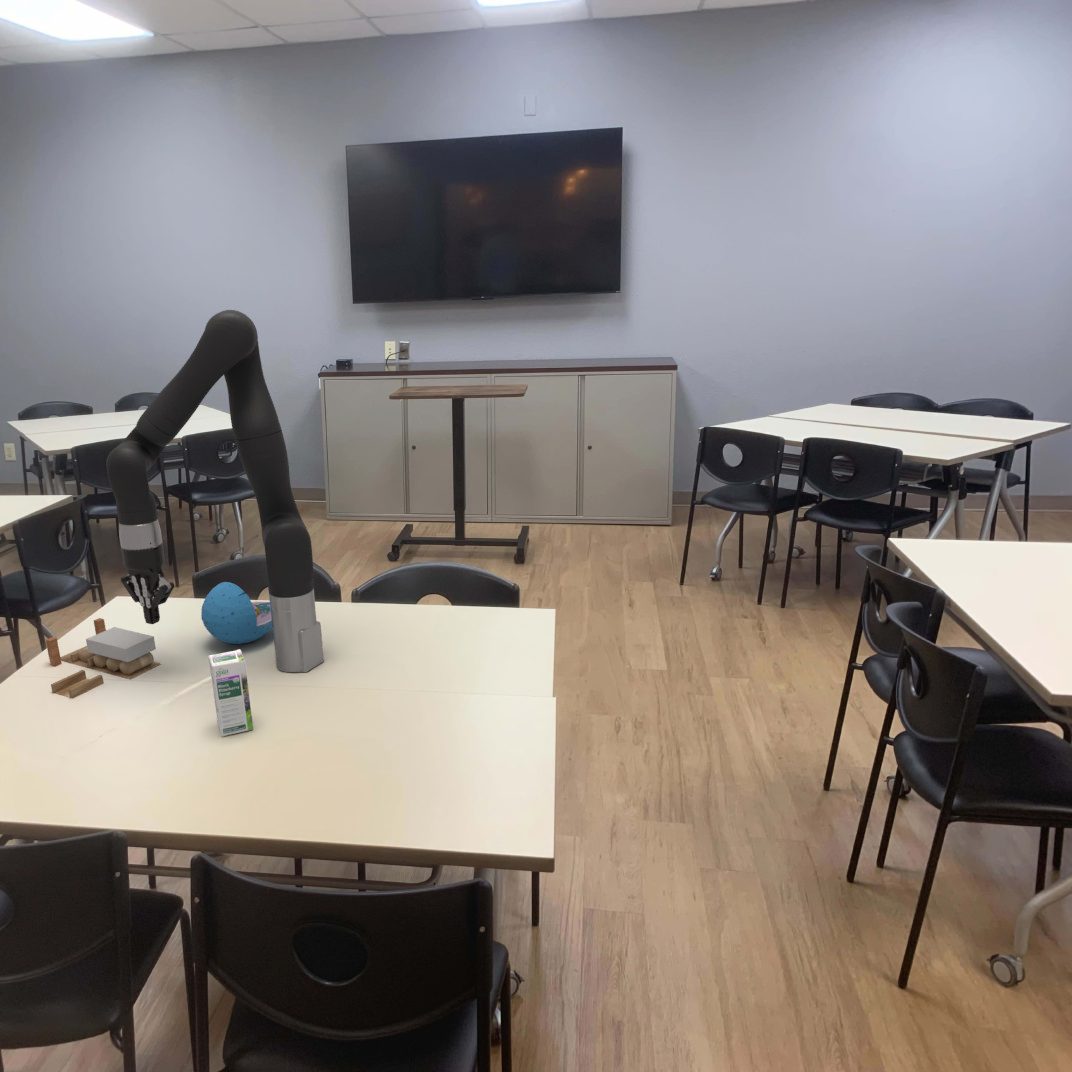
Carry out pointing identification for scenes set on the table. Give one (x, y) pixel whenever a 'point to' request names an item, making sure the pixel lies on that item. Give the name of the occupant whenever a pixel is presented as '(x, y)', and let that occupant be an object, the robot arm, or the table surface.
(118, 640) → the slab
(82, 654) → the dowel
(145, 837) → the table surface
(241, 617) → the educational model
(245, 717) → the syrup box
